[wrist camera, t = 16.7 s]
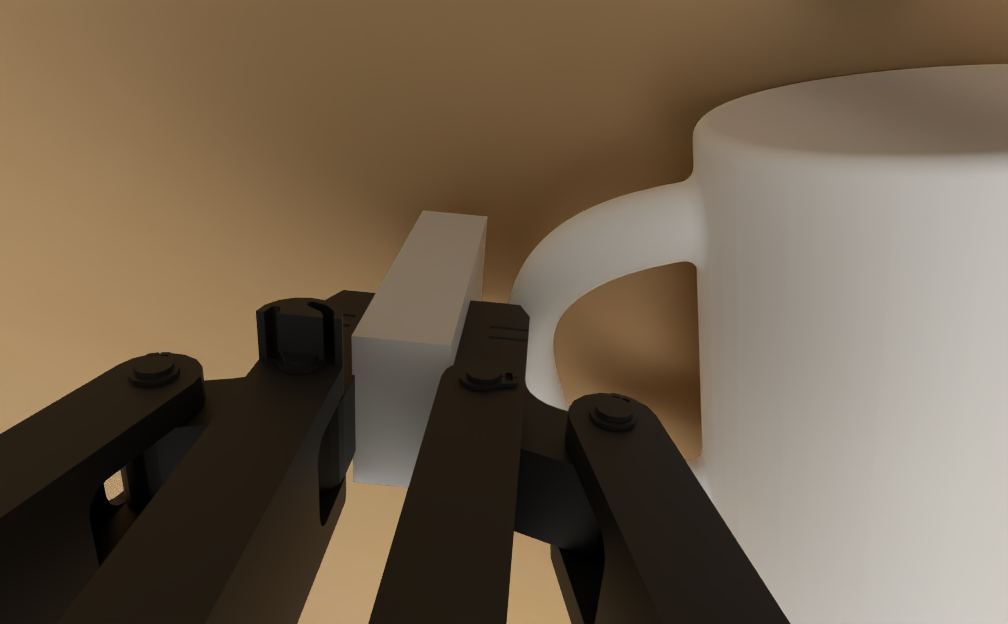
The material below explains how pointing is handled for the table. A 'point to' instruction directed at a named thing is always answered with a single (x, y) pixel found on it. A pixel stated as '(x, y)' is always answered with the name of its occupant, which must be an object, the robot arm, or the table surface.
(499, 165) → the table surface
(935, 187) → the mug
